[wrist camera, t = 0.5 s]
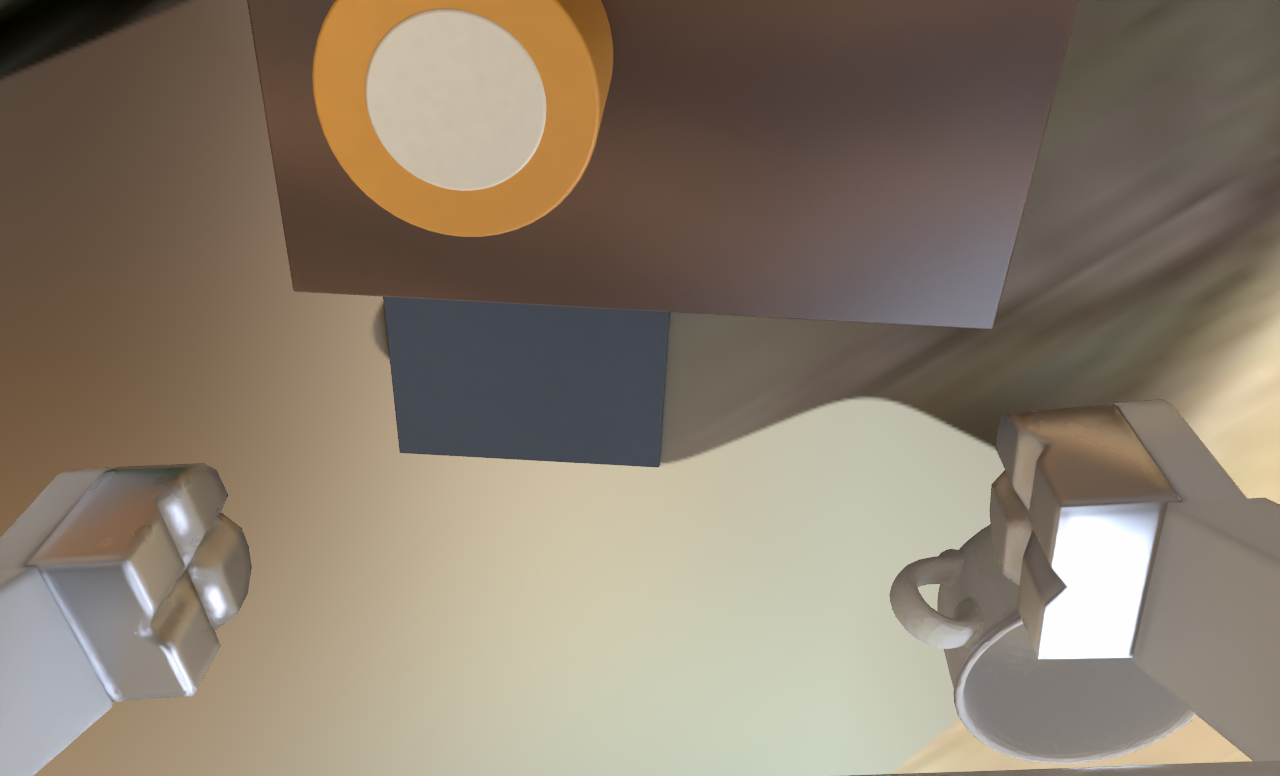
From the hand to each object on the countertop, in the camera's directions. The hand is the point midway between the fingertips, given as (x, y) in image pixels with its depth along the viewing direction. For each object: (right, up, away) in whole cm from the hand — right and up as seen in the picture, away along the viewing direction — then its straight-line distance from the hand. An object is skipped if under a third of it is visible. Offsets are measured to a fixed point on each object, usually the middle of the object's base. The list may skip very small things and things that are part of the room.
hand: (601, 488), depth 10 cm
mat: (-4, +3, +32) cm, 33 cm away
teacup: (+18, -7, +37) cm, 42 cm away
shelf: (+1, +15, +24) cm, 29 cm away
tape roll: (-3, +9, +14) cm, 17 cm away
